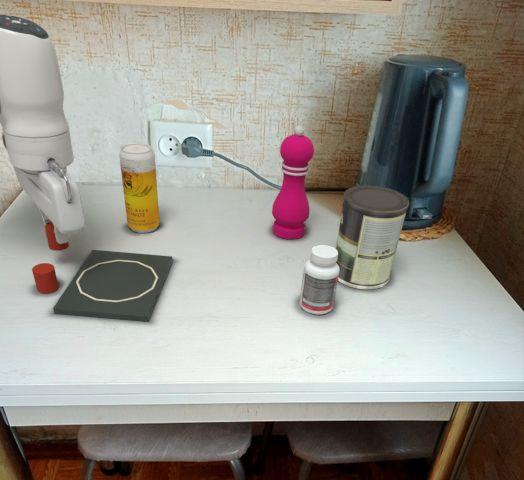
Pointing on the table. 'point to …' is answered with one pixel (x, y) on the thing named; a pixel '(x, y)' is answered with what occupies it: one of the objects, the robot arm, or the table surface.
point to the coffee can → (369, 235)
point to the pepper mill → (293, 186)
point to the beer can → (139, 187)
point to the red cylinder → (51, 241)
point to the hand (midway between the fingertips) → (56, 235)
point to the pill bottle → (320, 280)
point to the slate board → (115, 286)
